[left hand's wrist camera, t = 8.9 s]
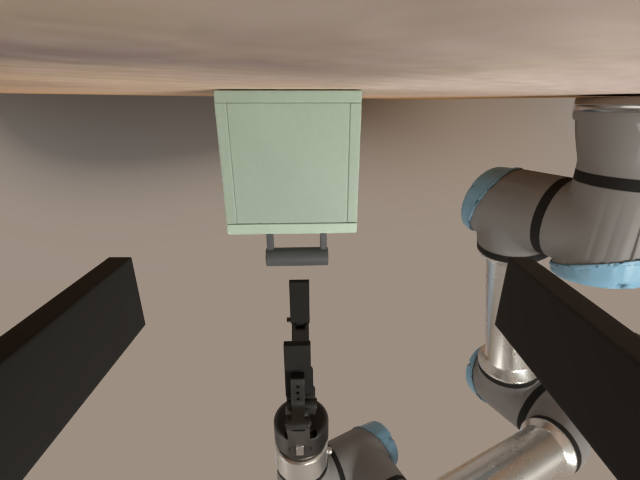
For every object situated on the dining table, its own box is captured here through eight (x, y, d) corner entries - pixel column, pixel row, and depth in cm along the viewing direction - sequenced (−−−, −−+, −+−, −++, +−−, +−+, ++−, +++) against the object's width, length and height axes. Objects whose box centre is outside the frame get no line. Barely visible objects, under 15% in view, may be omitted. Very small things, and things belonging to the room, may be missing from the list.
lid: (340, 184, 41) (338, 252, 44) (252, 185, 40) (256, 253, 43) (357, 222, 28) (353, 316, 31) (226, 224, 27) (236, 318, 30)
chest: (342, 94, 36) (341, 185, 40) (244, 94, 36) (250, 186, 40) (362, 90, 24) (357, 222, 28) (212, 90, 24) (226, 224, 27)
